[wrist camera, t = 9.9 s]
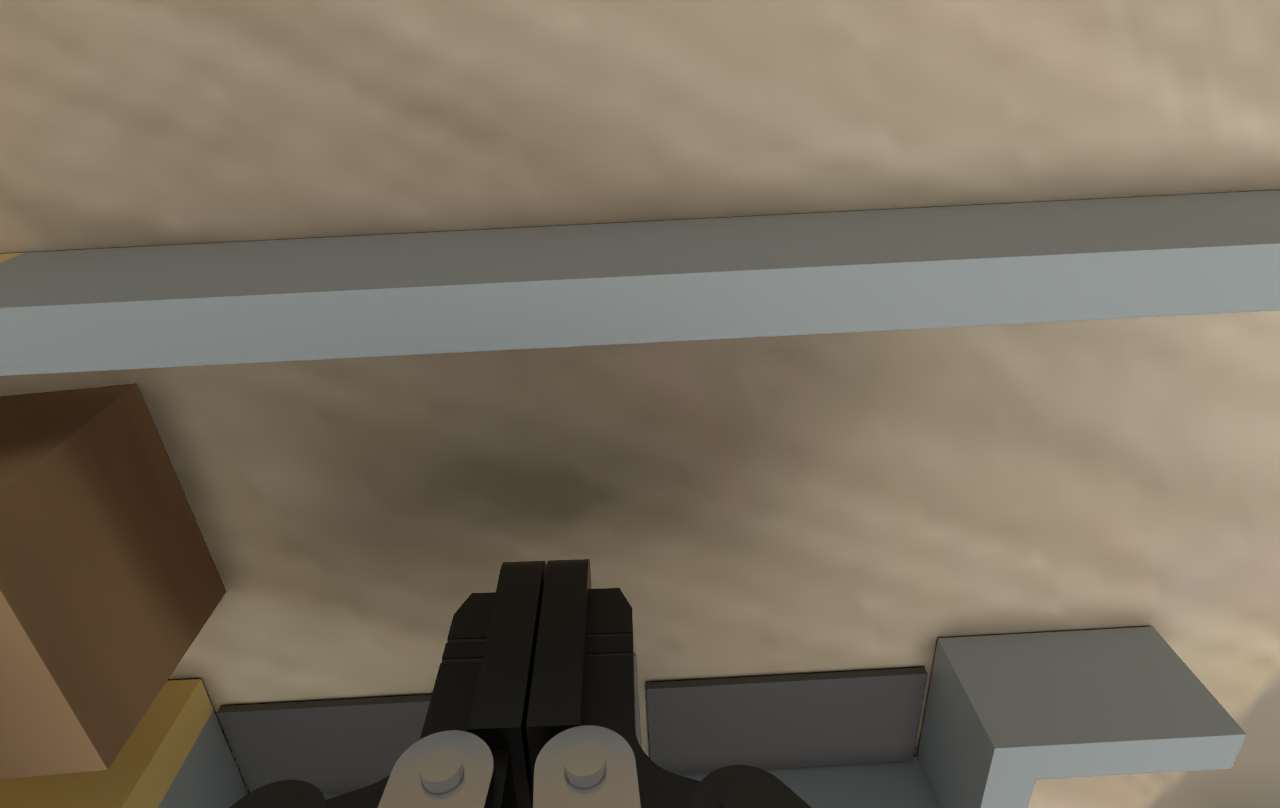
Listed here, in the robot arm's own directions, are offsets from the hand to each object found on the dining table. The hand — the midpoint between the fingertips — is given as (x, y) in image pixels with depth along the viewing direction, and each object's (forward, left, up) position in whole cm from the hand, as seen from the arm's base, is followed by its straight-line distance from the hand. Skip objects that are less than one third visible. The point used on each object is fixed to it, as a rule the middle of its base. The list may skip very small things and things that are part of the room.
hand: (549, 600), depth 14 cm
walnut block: (-5, +9, -3) cm, 10 cm away
